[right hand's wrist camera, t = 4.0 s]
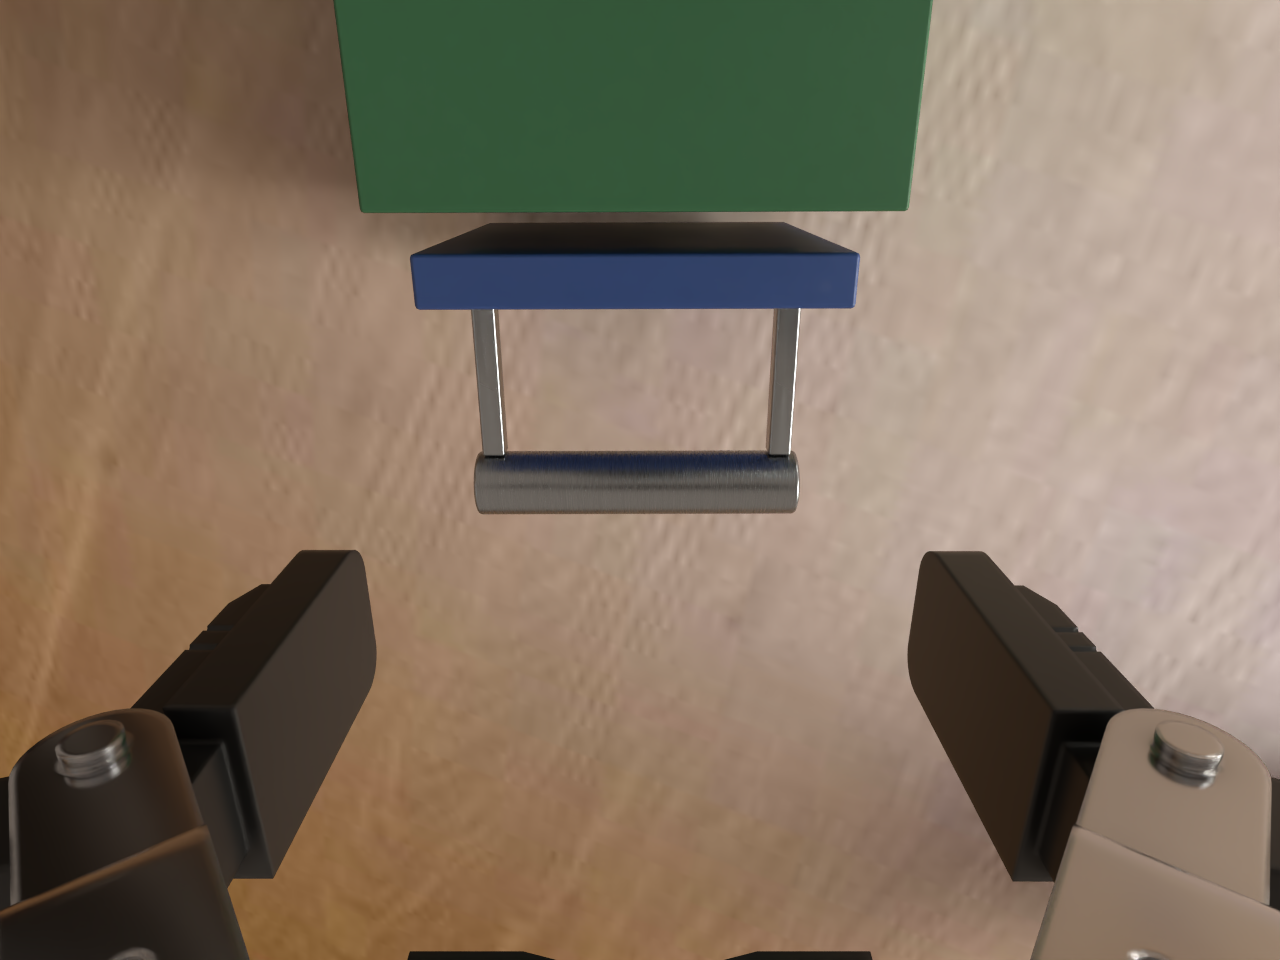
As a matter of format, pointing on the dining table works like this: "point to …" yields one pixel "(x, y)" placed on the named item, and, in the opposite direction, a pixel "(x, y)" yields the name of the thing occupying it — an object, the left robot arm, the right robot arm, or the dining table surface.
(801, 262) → the drawer
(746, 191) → the cabinet
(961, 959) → the dining table surface
